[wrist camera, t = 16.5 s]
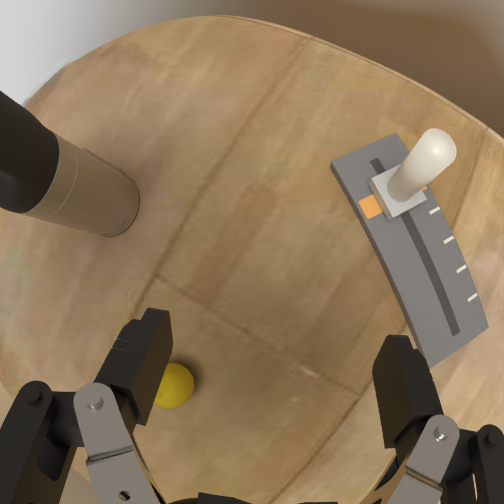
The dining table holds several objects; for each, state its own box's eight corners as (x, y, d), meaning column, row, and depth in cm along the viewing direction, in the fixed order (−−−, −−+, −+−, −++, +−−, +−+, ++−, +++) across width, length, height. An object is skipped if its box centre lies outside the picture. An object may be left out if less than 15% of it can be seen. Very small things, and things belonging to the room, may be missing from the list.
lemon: (163, 354, 39) (133, 368, 32) (202, 359, 38) (179, 376, 31) (164, 392, 39) (136, 412, 31) (202, 398, 38) (180, 421, 30)
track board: (330, 167, 38) (331, 161, 36) (392, 139, 37) (396, 132, 35) (423, 364, 34) (429, 368, 32) (481, 325, 33) (489, 327, 31)
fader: (368, 183, 35) (399, 130, 21) (400, 167, 34) (443, 112, 21) (388, 221, 34) (433, 185, 20) (421, 203, 34) (475, 163, 20)
